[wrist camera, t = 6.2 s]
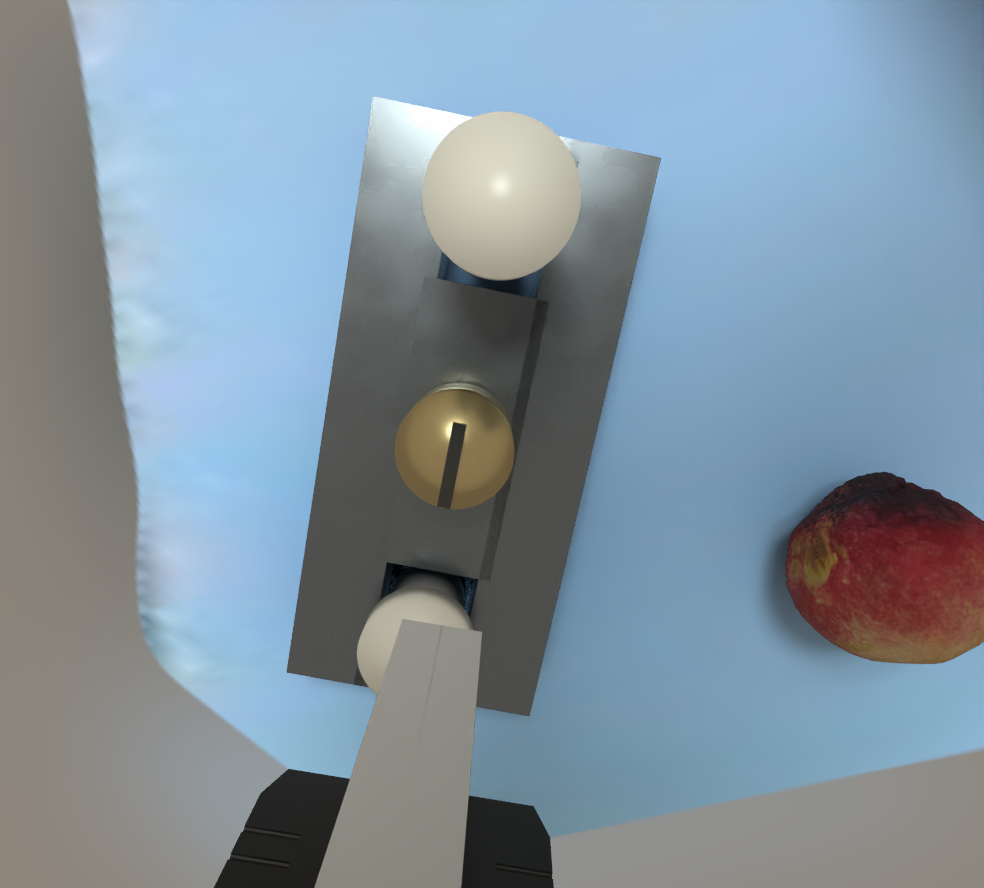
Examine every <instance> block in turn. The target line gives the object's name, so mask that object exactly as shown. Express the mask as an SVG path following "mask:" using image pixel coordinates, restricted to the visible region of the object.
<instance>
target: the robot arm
mask: <svg viewBox="0 0 984 888" xmlns="http://www.w3.org/2000/svg"><path fill="white" fill-rule="evenodd" d="M481 640H482V632H480V631H474V630H468V629H462V628H456V627H450V626H444V625H437V624H431V623H425V622H419V621H413V620H407V619H402V622H401V625H400V628H399V631H398V634H397V637H396V641H395V644H394V647H393V650H392V653H391V656H390V659H389V662H388V665H387V668H386V671H385V674H384V677H383V680H382V683H381V686H380V689H379V692H378V695H377V698H376V701H375V704H374V708H373V711H372V714H371V717H370V720H369V723H368V726H367V729H366V732H365V735H364V738H363V741H362V744H361V747H360V750H359V753H358V756H357V759H356V762H355V765H354V768H353V771H352V775H351V778H350V779H347V778H341V777H335V776H329V775H323V774H316V773H310V772H304V771H298V770H292V769H288V770H287V771H286V772H285V773H283V774H282V775H281V776H280V777H279V778H278V779H277V780H275V781H274V782H273V783H272V784H271V785H270V786H269V787H267V788H266V789H265V790H264V791H263V792H262V793H261V794H260V796H259V798H258V800H257V802H256V804H255V806H254V808H253V810H252V812H251V814H250V816H249V818H248V820H247V822H246V824H245V828H244V831H243V832H241V834H240V836H239V838H238V840H237V842H236V844H235V846H234V848H233V850H232V852H231V856H230V859H229V860H227V862H226V864H225V867H224V869H223V870H222V873H221V874H220V876H219V878H218V881H217V882H216V885H215V886H214V888H554V887H553V879H552V861H551V846H550V837H549V835H548V833H547V831H546V829H545V827H544V825H543V823H542V821H541V820H540V818H539V816H538V814H537V812H536V810H535V808H534V806H529V805H523V804H517V803H511V802H505V801H499V800H492V799H486V798H480V797H474V796H469V785H470V773H471V761H472V749H473V737H474V725H475V713H476V700H477V688H478V676H479V664H480V652H481Z"/></svg>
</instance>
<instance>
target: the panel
mask: <svg viewBox="0 0 984 888" xmlns="http://www.w3.org/2000/svg"><path fill="white" fill-rule="evenodd" d="M471 118H472V117H468V116H463V115H458V114H454V113H449V112H444V111H440V110H435V109H430V108H426V107H421V106H416V105H412V104H407V103H402V102H398V101H393V100H388V99H384V98H379V97H374V96H373V101H372V107H371V114H370V121H369V127H368V134H367V141H366V147H365V154H364V161H363V167H362V174H361V181H360V187H359V194H358V201H357V207H356V214H355V221H354V227H353V234H352V241H351V247H350V254H349V261H348V267H347V274H346V281H345V287H344V294H343V301H342V307H341V314H340V320H339V327H338V334H337V340H336V347H335V354H334V360H333V367H332V374H331V380H330V387H329V394H328V400H327V407H326V414H325V420H324V427H323V434H322V440H321V447H320V454H319V460H318V467H317V474H316V480H315V487H314V494H313V500H312V507H311V514H310V520H309V527H308V534H307V540H306V547H305V554H304V560H303V567H302V574H301V580H300V587H299V594H298V600H297V607H296V613H295V620H294V627H293V633H292V640H291V647H290V653H289V660H288V667H287V673H293V674H299V675H304V676H310V677H315V678H321V679H326V680H332V681H337V682H343V683H348V684H354V685H359V686H365V687H369V686H368V685H367V684H366V682H365V681H364V679H363V677H362V675H361V673H360V670H359V667H358V662H357V647H358V643H359V639H360V636H361V634H362V631H363V629H364V626H365V624H366V621H367V619H368V617H369V614H370V613H371V611H372V609H373V608H374V607H375V606H376V604H377V603H378V602H379V601H380V600H382V599H383V598H384V597H386V596H387V595H388V593H389V587H390V581H391V576H392V570H393V565H394V564H400V565H405V566H410V567H416V568H421V569H426V570H432V571H437V572H442V573H448V574H453V575H458V576H464V577H469V578H474V580H473V584H472V589H471V594H470V599H469V604H468V609H467V614H468V616H469V618H470V620H471V622H472V626H473V630H474V631H480V632H482V640H481V652H480V664H479V676H478V688H477V700H476V707H481V708H487V709H492V710H498V711H503V712H509V713H514V714H520V715H525V716H530V711H531V707H532V703H533V699H534V694H535V690H536V686H537V682H538V677H539V673H540V669H541V665H542V661H543V656H544V652H545V648H546V644H547V639H548V635H549V631H550V627H551V622H552V618H553V614H554V610H555V605H556V601H557V597H558V593H559V589H560V584H561V580H562V576H563V572H564V567H565V563H566V559H567V555H568V550H569V546H570V542H571V538H572V533H573V529H574V525H575V521H576V517H577V512H578V508H579V504H580V500H581V495H582V491H583V487H584V483H585V478H586V474H587V470H588V466H589V461H590V457H591V453H592V449H593V445H594V440H595V436H596V432H597V428H598V423H599V419H600V415H601V411H602V406H603V402H604V398H605V394H606V390H607V385H608V381H609V377H610V373H611V368H612V364H613V360H614V356H615V351H616V347H617V343H618V339H619V334H620V330H621V326H622V322H623V318H624V313H625V309H626V305H627V301H628V296H629V292H630V288H631V284H632V279H633V275H634V271H635V267H636V262H637V258H638V254H639V250H640V246H641V241H642V237H643V233H644V229H645V224H646V220H647V216H648V212H649V207H650V203H651V199H652V195H653V190H654V186H655V182H656V178H657V174H658V169H659V165H660V161H661V158H659V157H654V156H650V155H645V154H640V153H636V152H631V151H626V150H622V149H617V148H612V147H608V146H603V145H598V144H594V143H589V142H584V141H580V140H575V139H570V138H566V137H561V136H558V137H559V138H560V139H561V140H562V141H563V142H564V144H565V145H566V147H567V148H568V150H569V151H570V153H571V155H572V157H573V159H574V162H575V164H576V167H577V170H578V174H579V178H580V185H581V205H580V212H579V216H578V220H577V223H576V226H575V228H574V231H573V233H572V235H571V237H570V238H569V240H568V242H567V244H566V245H565V246H564V247H563V249H562V250H561V251H560V252H559V253H558V255H557V256H556V257H555V258H554V259H552V260H551V261H550V262H549V263H547V264H546V265H545V266H543V267H542V268H541V269H539V270H538V271H537V275H536V280H535V285H534V290H533V295H532V298H529V297H525V296H520V295H515V294H510V293H505V292H500V291H495V290H490V289H486V288H481V287H476V286H471V285H466V284H461V283H456V282H451V281H446V280H445V276H446V270H447V265H448V259H449V257H448V256H447V255H446V254H445V253H444V252H443V251H442V250H441V249H440V247H439V246H438V245H437V243H436V242H435V240H434V238H433V236H432V235H431V232H430V230H429V228H428V225H427V222H426V218H425V215H424V209H423V198H422V191H423V181H424V177H425V172H426V169H427V166H428V163H429V161H430V159H431V157H432V155H433V153H434V151H435V149H436V148H437V146H438V145H439V144H440V142H441V141H442V140H443V139H444V138H445V137H446V135H447V134H448V133H449V132H451V131H452V130H453V129H454V128H455V127H457V126H458V125H460V124H461V123H463V122H464V121H466V120H468V119H471ZM448 383H468V384H472V385H476V386H478V387H481V388H483V389H485V390H486V391H488V392H490V393H491V394H492V395H494V396H495V397H496V398H497V399H498V400H499V401H500V403H501V404H502V405H503V407H504V408H505V410H506V412H507V414H508V416H509V419H510V422H511V426H512V434H513V441H514V462H513V466H512V470H511V472H510V475H509V477H508V479H507V481H506V482H505V484H504V485H503V486H502V488H501V489H500V490H499V491H498V492H497V493H496V494H495V495H494V496H493V497H491V498H490V499H489V500H487V501H485V502H483V503H481V504H479V505H477V506H474V507H470V508H466V509H445V508H440V507H436V506H434V505H431V504H429V503H427V502H425V501H423V500H422V499H420V498H419V497H418V496H416V495H415V494H414V493H413V492H412V491H411V490H410V489H409V488H408V487H407V485H406V484H405V482H404V481H403V479H402V478H401V476H400V473H399V471H398V468H397V465H396V460H395V440H396V436H397V432H398V429H399V427H400V425H401V423H402V421H403V419H404V418H405V417H406V415H407V414H408V413H409V411H410V410H411V409H412V408H413V406H414V405H415V404H416V402H417V401H418V400H419V399H420V398H421V397H422V396H423V395H424V394H426V393H427V392H428V391H430V390H432V389H434V388H436V387H438V386H440V385H444V384H448Z"/></svg>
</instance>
